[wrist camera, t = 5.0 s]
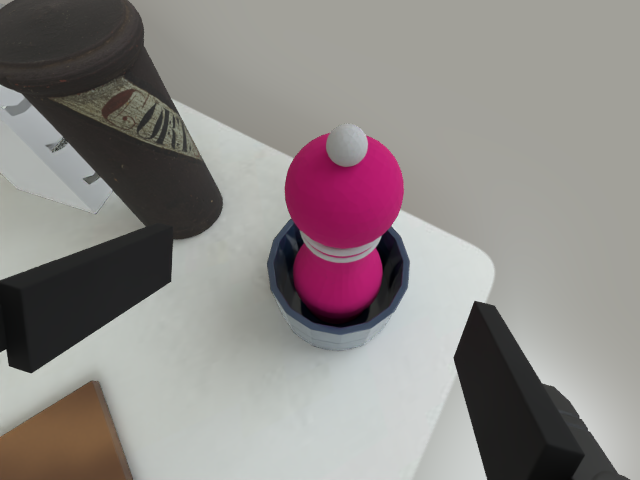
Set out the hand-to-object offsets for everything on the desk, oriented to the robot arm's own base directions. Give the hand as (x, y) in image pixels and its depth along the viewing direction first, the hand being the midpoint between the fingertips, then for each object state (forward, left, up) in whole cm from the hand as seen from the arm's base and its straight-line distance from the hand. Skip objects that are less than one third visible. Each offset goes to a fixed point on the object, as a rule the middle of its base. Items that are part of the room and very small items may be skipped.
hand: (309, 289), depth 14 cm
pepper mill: (+4, -4, -17) cm, 17 cm away
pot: (+4, -4, -17) cm, 18 cm away
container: (+21, +4, -17) cm, 27 cm away
